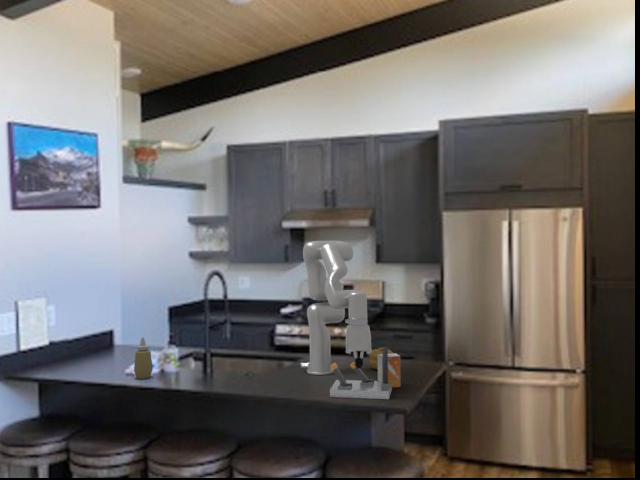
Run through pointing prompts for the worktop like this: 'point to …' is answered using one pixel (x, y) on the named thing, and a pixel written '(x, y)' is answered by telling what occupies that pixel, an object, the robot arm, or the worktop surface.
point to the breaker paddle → (359, 372)
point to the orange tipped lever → (338, 374)
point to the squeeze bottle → (143, 361)
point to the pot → (376, 357)
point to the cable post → (385, 370)
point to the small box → (390, 369)
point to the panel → (360, 389)
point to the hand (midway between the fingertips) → (359, 367)
